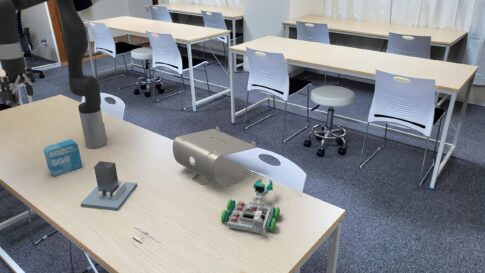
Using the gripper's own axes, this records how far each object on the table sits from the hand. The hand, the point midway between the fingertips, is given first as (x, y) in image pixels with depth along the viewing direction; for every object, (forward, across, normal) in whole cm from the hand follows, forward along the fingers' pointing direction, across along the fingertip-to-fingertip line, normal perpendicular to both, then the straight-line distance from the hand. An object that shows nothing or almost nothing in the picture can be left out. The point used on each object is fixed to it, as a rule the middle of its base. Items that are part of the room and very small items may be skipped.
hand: (22, 99), depth 139 cm
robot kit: (+33, -10, -89) cm, 95 cm away
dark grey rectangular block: (+31, -10, -35) cm, 48 cm away
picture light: (+33, -29, -56) cm, 71 cm away
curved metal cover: (+32, +13, -69) cm, 78 cm away
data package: (+32, +4, -8) cm, 34 cm away
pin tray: (+32, -10, -35) cm, 49 cm away
